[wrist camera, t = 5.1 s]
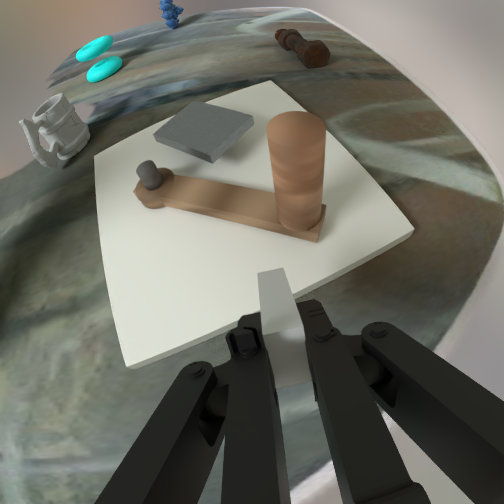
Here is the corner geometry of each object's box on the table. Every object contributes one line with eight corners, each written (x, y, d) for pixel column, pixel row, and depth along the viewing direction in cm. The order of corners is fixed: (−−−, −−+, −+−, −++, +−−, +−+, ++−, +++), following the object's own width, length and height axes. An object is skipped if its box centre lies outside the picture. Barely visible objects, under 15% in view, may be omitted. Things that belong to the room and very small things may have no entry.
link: (134, 204, 30) (85, 134, 20) (154, 174, 31) (114, 102, 22) (314, 250, 24) (321, 157, 15) (327, 208, 26) (335, 113, 17)
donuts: (96, 46, 45) (67, 58, 47) (111, 79, 54) (82, 88, 56) (117, 29, 50) (88, 41, 52) (130, 59, 58) (102, 68, 60)
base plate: (135, 369, 23) (126, 367, 22) (98, 162, 38) (94, 156, 36) (409, 237, 25) (414, 228, 24) (271, 88, 40) (270, 80, 38)
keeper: (167, 163, 34) (152, 134, 30) (203, 129, 37) (193, 100, 32) (221, 188, 31) (209, 155, 27) (258, 149, 33) (253, 115, 29)
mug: (98, 126, 43) (68, 75, 33) (70, 176, 38) (29, 121, 27) (69, 135, 44) (39, 89, 34) (41, 183, 39) (1, 136, 28)
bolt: (286, 49, 51) (321, 74, 43) (265, 42, 49) (297, 65, 41) (297, 27, 47) (335, 47, 39) (276, 19, 44) (311, 37, 37)
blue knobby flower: (186, 29, 63) (176, -5, 53) (164, 36, 64) (152, 2, 53) (189, 20, 69) (181, -10, 59) (169, 26, 70) (159, -4, 59)
